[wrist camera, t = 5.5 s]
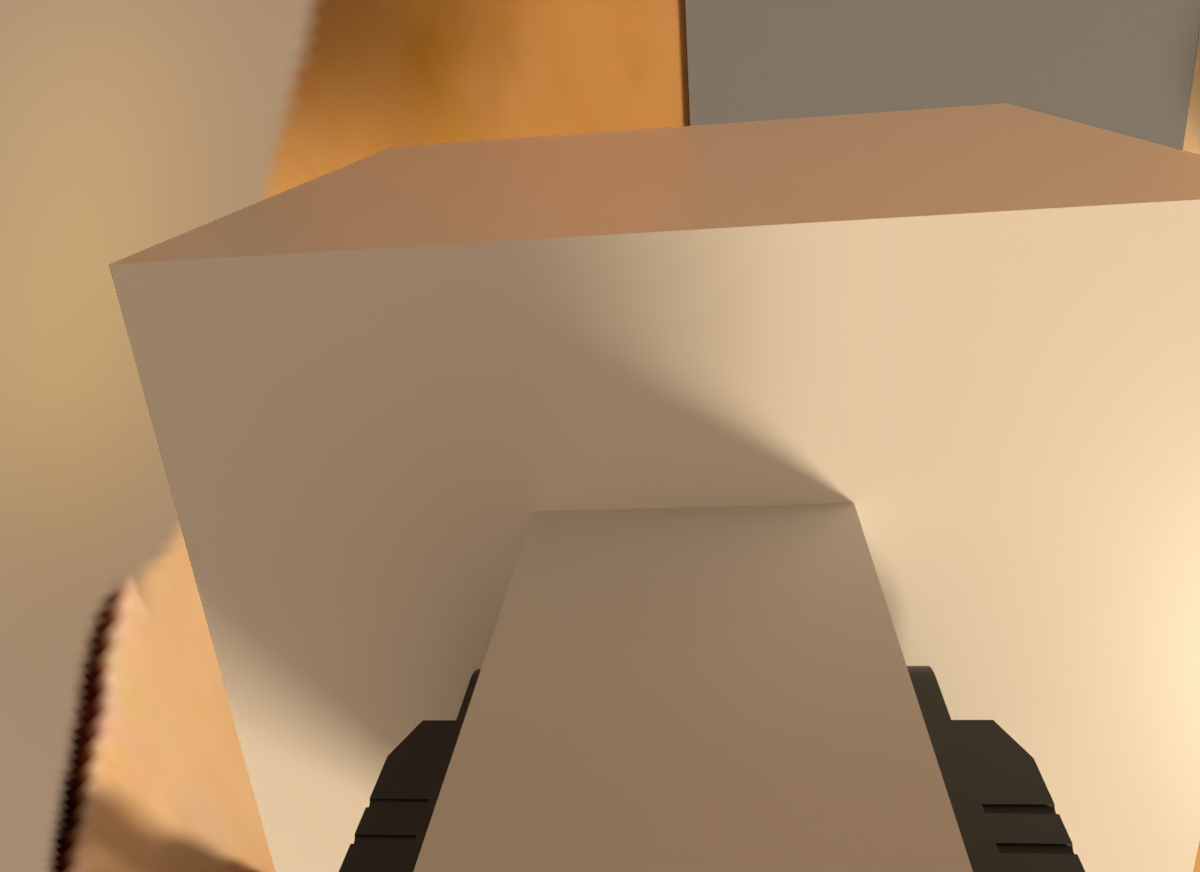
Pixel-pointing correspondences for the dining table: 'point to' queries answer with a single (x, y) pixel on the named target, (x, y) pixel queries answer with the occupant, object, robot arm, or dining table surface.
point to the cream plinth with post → (700, 486)
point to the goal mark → (946, 59)
